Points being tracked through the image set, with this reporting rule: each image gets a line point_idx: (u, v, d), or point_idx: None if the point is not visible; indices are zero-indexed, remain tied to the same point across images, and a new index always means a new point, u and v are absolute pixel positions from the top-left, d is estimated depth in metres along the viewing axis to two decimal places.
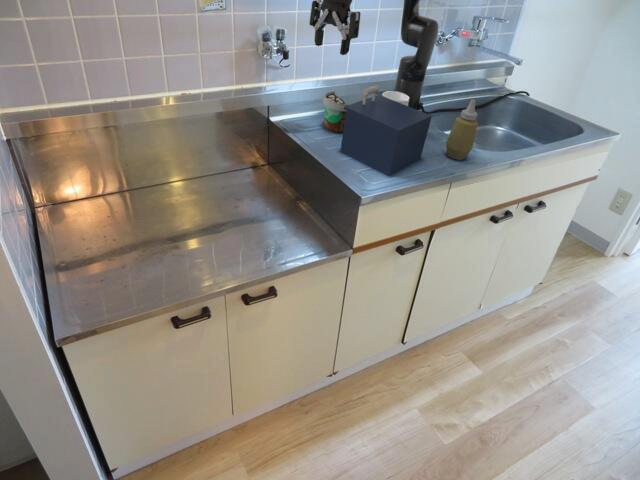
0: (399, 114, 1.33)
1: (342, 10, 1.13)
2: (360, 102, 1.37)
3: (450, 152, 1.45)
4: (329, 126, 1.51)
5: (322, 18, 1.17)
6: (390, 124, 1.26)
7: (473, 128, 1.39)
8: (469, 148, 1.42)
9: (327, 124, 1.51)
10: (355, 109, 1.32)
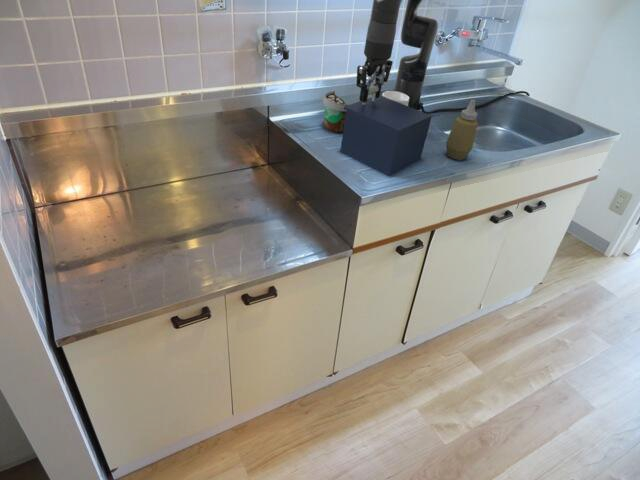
0: (399, 114, 1.33)
1: None
2: (360, 102, 1.37)
3: (450, 152, 1.45)
4: (329, 126, 1.51)
5: None
6: (390, 124, 1.26)
7: (473, 128, 1.39)
8: (469, 148, 1.42)
9: (327, 124, 1.51)
10: (355, 109, 1.32)
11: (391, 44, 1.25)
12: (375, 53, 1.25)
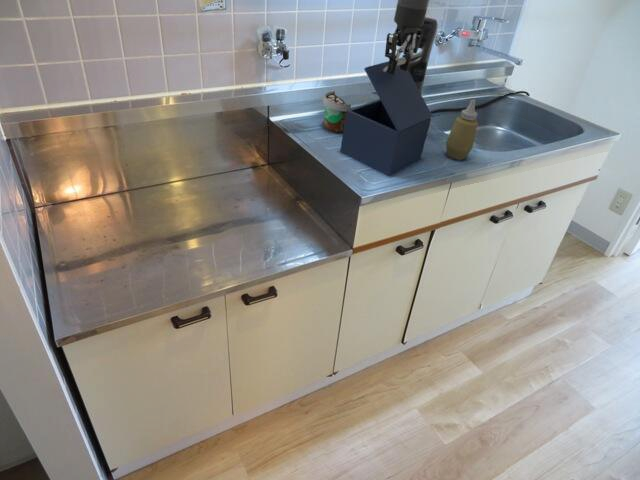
0: (408, 102, 1.30)
1: None
2: (381, 65, 1.27)
3: (450, 152, 1.45)
4: (329, 126, 1.51)
5: None
6: (395, 117, 1.24)
7: (473, 128, 1.39)
8: (469, 148, 1.42)
9: (327, 124, 1.51)
10: (374, 77, 1.24)
11: (424, 10, 1.15)
12: (407, 20, 1.16)
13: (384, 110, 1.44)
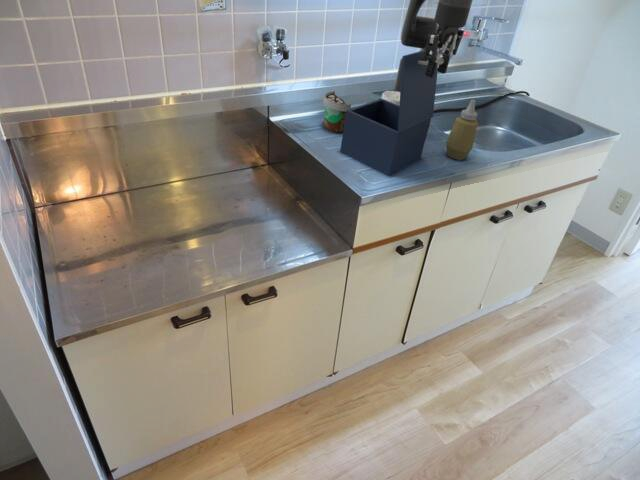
0: (421, 100, 1.27)
1: None
2: (419, 55, 1.19)
3: (450, 152, 1.45)
4: (329, 126, 1.51)
5: None
6: (403, 117, 1.23)
7: (473, 128, 1.39)
8: (469, 148, 1.42)
9: (327, 124, 1.51)
10: (406, 69, 1.17)
11: (468, 9, 1.09)
12: (450, 19, 1.09)
13: (384, 110, 1.44)
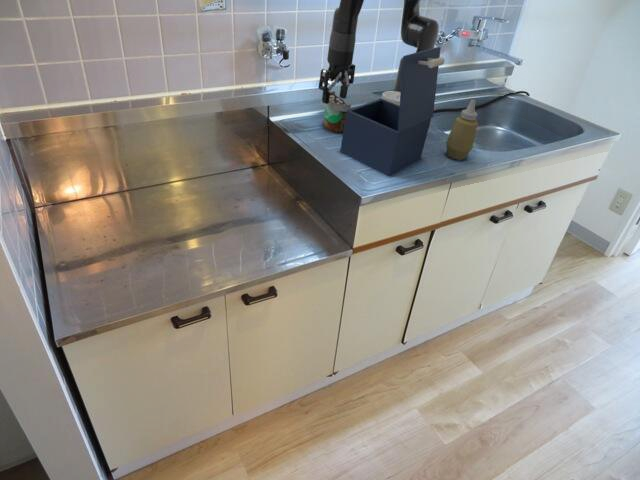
0: (421, 100, 1.27)
1: None
2: (419, 55, 1.19)
3: (450, 152, 1.45)
4: (329, 126, 1.51)
5: None
6: (403, 117, 1.23)
7: (473, 128, 1.39)
8: (469, 148, 1.42)
9: (327, 124, 1.51)
10: (407, 69, 1.16)
11: (351, 52, 1.37)
12: (337, 60, 1.37)
13: (384, 110, 1.44)
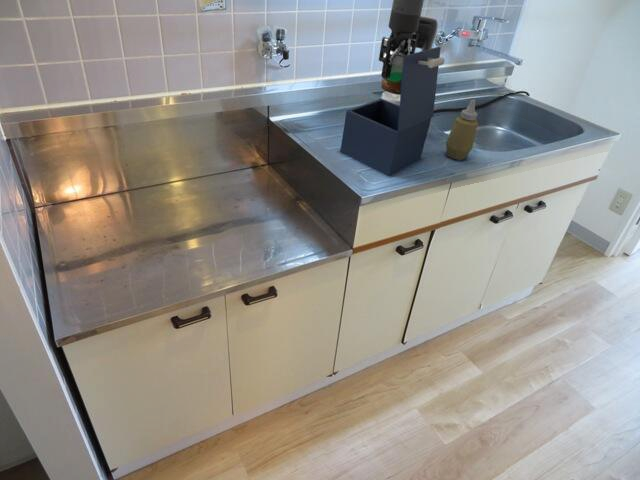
0: (421, 100, 1.27)
1: None
2: (419, 55, 1.19)
3: (450, 152, 1.45)
4: (389, 86, 1.28)
5: None
6: (403, 117, 1.23)
7: (473, 128, 1.39)
8: (469, 148, 1.42)
9: (387, 84, 1.28)
10: (407, 69, 1.16)
11: (418, 16, 1.17)
12: (401, 25, 1.17)
13: (384, 110, 1.44)
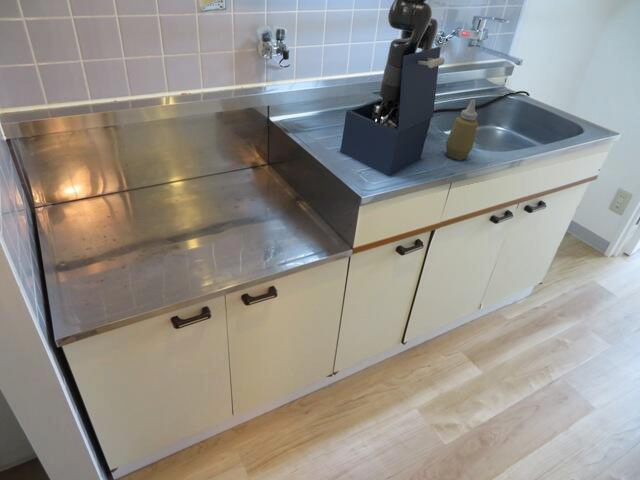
0: (421, 100, 1.27)
1: None
2: (419, 55, 1.19)
3: (450, 152, 1.45)
4: None
5: None
6: (403, 117, 1.23)
7: (473, 128, 1.39)
8: (469, 148, 1.42)
9: None
10: (407, 69, 1.16)
11: None
12: (391, 95, 1.27)
13: None
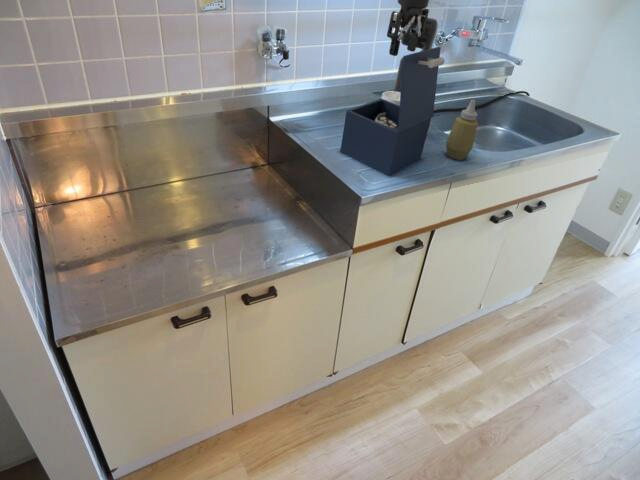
0: (421, 100, 1.27)
1: None
2: (419, 55, 1.19)
3: (450, 152, 1.45)
4: None
5: None
6: (403, 117, 1.23)
7: (473, 128, 1.39)
8: (469, 148, 1.42)
9: None
10: (407, 69, 1.16)
11: None
12: (411, 0, 1.13)
13: (384, 110, 1.44)
